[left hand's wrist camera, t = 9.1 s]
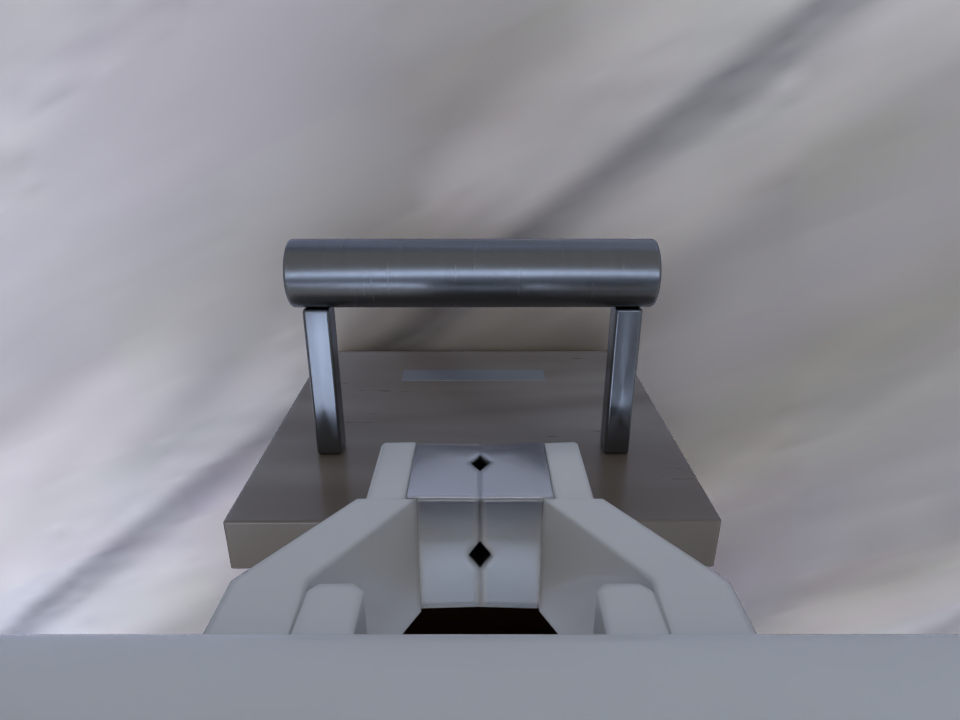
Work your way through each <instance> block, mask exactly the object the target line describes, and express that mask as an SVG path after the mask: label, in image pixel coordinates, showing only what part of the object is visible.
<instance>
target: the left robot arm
mask: <svg viewBox="0 0 960 720" xmlns="http://www.w3.org/2000/svg"><path fill="white" fill-rule="evenodd" d="M451 607H508V608H539V612H540V613H541V614H542V615H543V616H544V618H545V619H546V620H547V621H548V623H549V624H550V625H551V626H552V627H553V629H554V630H555V631H556V632H557V633H558V634H403V633H404V632H405V630H406V629H407V628H408V627H409V626H410V624H411V623H412V622H413V621H414V619H415V618H416V617H417V616H418V615H419V613H420V612H421V608H451ZM0 720H960V634H757V633H756V632H755V630H754V628H753V626H752V624H751V622H750V620H749V618H748V616H747V614H746V612H745V610H744V608H743V607H742V605H741V603H740V601H739V599H738V597H737V595H736V593H735V591H734V589H733V587H732V585H731V583H730V582H729V581H728V580H726V579H725V578H723V577H722V576H720V575H718V574H717V573H715V572H714V571H712V570H711V569H709V568H708V567H706V566H705V565H703V564H702V563H700V562H699V561H697V560H696V559H694V558H693V557H691V556H689V555H688V554H686V553H685V552H683V551H682V550H680V549H679V548H677V547H676V546H674V545H673V544H671V543H670V542H668V541H667V540H665V539H663V538H662V537H660V536H659V535H657V534H656V533H654V532H653V531H651V530H650V529H648V528H647V527H645V526H644V525H642V524H641V523H639V522H638V521H636V520H634V519H633V518H631V517H630V516H628V515H627V514H625V513H624V512H622V511H621V510H619V509H618V508H616V507H615V506H613V505H612V504H610V503H609V502H607V501H605V500H604V499H594V498H593V495H592V491H591V488H590V485H589V481H588V478H587V474H586V471H585V468H584V464H583V461H582V457H581V454H580V451H579V447H578V444H577V443H575V442H561V443H508V444H457V443H417V444H416V443H415V442H397V443H384V444H383V445H382V446H381V450H380V453H379V457H378V460H377V464H376V467H375V470H374V474H373V477H372V481H371V484H370V488H369V491H368V495H367V498H366V499H356V500H355V501H353V502H351V503H350V504H348V505H347V506H345V507H344V508H342V509H341V510H339V511H338V512H336V513H335V514H333V515H332V516H330V517H328V518H327V519H325V520H324V521H322V522H321V523H319V524H318V525H316V526H315V527H313V528H312V529H310V530H309V531H307V532H305V533H304V534H302V535H301V536H299V537H298V538H296V539H295V540H293V541H292V542H290V543H289V544H287V545H286V546H284V547H282V548H281V549H279V550H278V551H276V552H275V553H273V554H272V555H270V556H269V557H267V558H266V559H264V560H262V561H261V562H259V563H258V564H256V565H255V566H253V567H252V568H250V569H249V570H247V571H246V572H244V573H243V574H241V575H239V576H238V577H236V578H235V579H233V580H232V581H231V582H230V584H229V586H228V588H227V590H226V592H225V594H224V596H223V597H222V599H221V601H220V603H219V605H218V607H217V609H216V611H215V613H214V615H213V616H212V618H211V620H210V622H209V624H208V626H207V628H206V630H205V632H204V634H0Z"/></svg>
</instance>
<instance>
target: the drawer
mask: <svg viewBox="0 0 960 720" xmlns="http://www.w3.org/2000/svg"><path fill="white" fill-rule="evenodd" d="M283 280H284V287H285V292H286V295H287V298H288V301H289V303H290V304H291V305H292V306H293V307H305V308H304V310H303V320H304V329H305V339H306V348H307V357H308V367H309V376H310V377H309V378H308V380H307V382H306V383H305V385H304V387H303V388H302V390H301V392H300V393H299V395H298V397H297V398H296V400H295V402H294V404H293V405H292V407H291V409H290V410H289V412H288V414H287V415H286V417H285V419H284V420H283V422H282V424H281V426H280V427H279V429H278V431H277V432H276V434H275V436H274V437H273V439H272V441H271V442H270V444H269V446H268V447H267V449H266V451H265V453H264V454H263V456H262V458H261V459H260V461H259V463H258V464H257V466H256V468H255V469H254V471H253V473H252V474H251V476H250V478H249V480H248V481H247V483H246V485H245V486H244V488H243V490H242V491H241V493H240V495H239V496H238V498H237V500H236V502H235V503H234V505H233V507H232V508H231V510H230V512H229V513H228V515H227V517H226V518H225V520H224V522H223V523H224V529H225V534H226V540H227V546H228V551H229V557H230V562H231V567H232V568H252V567H253V566H255V565H256V564H258V563H259V562H261V561H262V560H264V559H266V558H267V557H269V556H270V555H272V554H273V553H275V552H276V551H278V550H279V549H281V548H282V547H284V546H286V545H287V544H289V543H290V542H292V541H293V540H295V539H296V538H298V537H299V536H301V535H302V534H304V533H305V532H307V531H309V530H310V529H312V528H313V527H315V526H316V525H318V524H319V523H321V522H322V521H324V520H325V519H327V518H328V517H330V516H332V515H333V514H335V513H336V512H338V511H339V510H341V509H342V508H344V507H345V506H347V505H348V504H350V503H351V502H353V501H355V500H356V499H366V498H367V495H368V491H369V488H370V484H371V481H372V477H373V474H374V470H375V467H376V464H377V460H378V457H379V453H380V450H381V446H382V445H383V444H384V443H397V442H415V443H416V444H417V443H457V444H508V443H561V442H575V443H577V444H578V447H579V451H580V454H581V457H582V461H583V464H584V468H585V471H586V474H587V478H588V481H589V485H590V488H591V491H592V495H593V498H594V499H604V500H605V501H607V502H609V503H610V504H612V505H613V506H615V507H616V508H618V509H619V510H621V511H622V512H624V513H625V514H627V515H628V516H630V517H631V518H633V519H634V520H636V521H638V522H639V523H641V524H642V525H644V526H645V527H647V528H648V529H650V530H651V531H653V532H654V533H656V534H657V535H659V536H660V537H662V538H663V539H665V540H667V541H668V542H670V543H671V544H673V545H674V546H676V547H677V548H679V549H680V550H682V551H683V552H685V553H686V554H688V555H689V556H691V557H693V558H694V559H696V560H697V561H699V562H700V563H702V564H703V565H705V566H713V565H714V559H715V554H716V548H717V542H718V536H719V530H720V524H721V519H720V517H719V516H718V514H717V512H716V511H715V509H714V507H713V505H712V504H711V502H710V500H709V499H708V497H707V495H706V493H705V492H704V490H703V488H702V487H701V485H700V483H699V481H698V480H697V478H696V476H695V475H694V473H693V471H692V469H691V468H690V466H689V464H688V463H687V461H686V459H685V457H684V456H683V454H682V452H681V451H680V449H679V447H678V445H677V444H676V442H675V440H674V439H673V437H672V435H671V434H670V432H669V430H668V428H667V427H666V425H665V423H664V422H663V420H662V418H661V416H660V415H659V413H658V411H657V410H656V408H655V406H654V404H653V403H652V401H651V399H650V398H649V396H648V394H647V392H646V391H645V389H644V387H643V386H642V384H641V382H640V380H639V379H638V377H637V375H636V370H637V360H638V350H639V340H640V330H641V321H642V309H641V308H640V307H650V306H653V305H654V303H655V302H656V300H657V297H658V294H659V289H660V283H661V255H660V250H659V247H658V244H657V242H656V241H655V240H653V239H291V240H289V241H288V243H287V245H286V248H285V252H284V258H283ZM334 307H611V313H610V325H609V338H608V350H607V351H338V345H337V334H336V323H335V311H334ZM403 634H558V633H557V632H556V631H555V630H554V629H553V627H552V626H551V625H550V624H549V623H548V621H547V620H546V619H545V618H544V616H543V615H542V614H541V613H540V612H539V608H508V607H451V608H421V612H420V613H419V615H418V616H417V617H416V618H415V619H414V621H413V622H412V623H411V624H410V626H409V627H408V628H407V629H406V630H405V632H404V633H403Z"/></svg>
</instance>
